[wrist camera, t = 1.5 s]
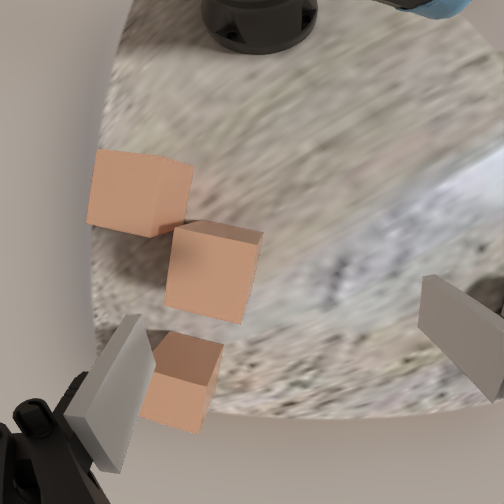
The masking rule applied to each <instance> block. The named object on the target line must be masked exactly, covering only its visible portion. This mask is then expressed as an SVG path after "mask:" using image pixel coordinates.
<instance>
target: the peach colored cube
mask: <svg viewBox="0 0 504 504" xmlns="http://www.w3.org/2000/svg"><path fill="white" fill-rule="evenodd" d="M193 171H194V167H193V166H190V165H187V164H184V163H181V162H178V161H175V160H172V159H169V158H166V157H162V156H155V155H147V154H138V153H130V152H120V151H110V150H100V149H97V154H96V159H95V165H94V170H93V176H92V182H91V189H90V196H89V203H88V211H87V219H86V223H87V224H91V225H95V226H100V227H104V228H109V229H113V230H117V231H122V232H126V233H131V234H135V235H140V236H144V237H149V238H151V237H154V236H157V235H160V234H164V233H167V232H170V231H173V230H174V229H175V227H179V226H182V225H184V220H185V214H186V208H187V203H188V197H189V192H190V186H191V181H192V176H193Z"/></svg>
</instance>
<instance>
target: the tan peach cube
mask: <svg viewBox="0 0 504 504" xmlns="http://www.w3.org/2000/svg"><path fill="white" fill-rule="evenodd" d="M223 347H224V345H223V344H218V343H214V342H210V341H206V340H202V339H199V338H195V337H191V336H187V335H183V334H180V333H176V332H173V331H170V332H169V333H168V334H167V335H166V336H165V338H164V339H163V340H162V341H161V342H160V344H159V345H158V346H157V347H156V348H155V350H154V351H153V352H152V353H153V356H154V359H155V363H156V367H155V369H154V372H153V375H152V378H151V381H150V383H149V386H148V389H147V392H146V395H145V398H144V401H143V404H142V407H141V410H140V413H139V416H141V417H144V418H147V419H150V420H152V421H156V422H159V423H162V424H165V425H168V426H171V427H174V428H178V429H181V430H185V431H188V432H192V433H195V434H199V433H200V430H201V428H202V425H203V422H204V419H205V417H206V414H207V411H208V408H209V406H210V403H211V400H212V397H213V395H214V392H215V389H216V384H217V378H218V373H219V368H220V362H221V357H222V352H223Z"/></svg>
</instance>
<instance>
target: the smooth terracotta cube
mask: <svg viewBox="0 0 504 504" xmlns="http://www.w3.org/2000/svg"><path fill="white" fill-rule="evenodd" d="M263 234H264V232H259V231H254V230H250V229H245V228H240V227H235V226H230V225H225V224H221V223H216V222H211V221H206V220H200V221H196V222H193V223H189V224H186V225H182V226H179V227H175V229H174V235H173V241H172V248H171V255H170V262H169V269H168V276H167V284H166V292H165V301H164V305H165V306H169V307H173V308H176V309H180V310H184V311H188V312H192V313H196V314H200V315H204V316H208V317H212V318H216V319H220V320H224V321H228V322H233V323H237V324H241V322H242V319H243V316H244V313H245V310H246V307H247V304H248V301H249V298H250V295H251V291H252V287H253V282H254V277H255V272H256V268H257V263H258V258H259V253H260V248H261V244H262V239H263Z"/></svg>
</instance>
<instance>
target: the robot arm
mask: <svg viewBox="0 0 504 504" xmlns="http://www.w3.org/2000/svg"><path fill="white" fill-rule="evenodd" d="M373 1H377V2H380V3H383V4H386V5H389V6H392V7H395V8H396V9H397V10H400V11H404V12H412V13H415V14H418V15H421V16H424V17H427V18H430V19H435V20H439V19H444V18H450V17H453V16H454V15H456V14H458V13H460V12H461V11H462V10H464V9H465V8H466V7H467V6H468V5H469V3H470V2H471V1H472V0H373ZM317 11H318V4H317V0H203V1H202V17H203V20H204V23H205V25H206V27H207V29H208V31H209V33H210V34H211V36H212V37H213V38H214V39H215V40H216V41H217V42H219V43H220V44H222V45H223V46H225V47H227V48H229V49H231V50H234V51H237V52H241V53H247V54H270V53H276V52H280V51H283V50H286V49H289V48H291V47H293V46H295V45H297V44H298V43H300V42H301V41H302V40H304V39H305V38H306V37H307V36H308V35H309V34H310V32H311V31H312V29H313V27H314V25H315V22H316V17H317ZM417 327H418V328H419V329H420V330H421V331H422V332H423V333H424V334H425V335H426V336H428V337H429V338H430V339H431V340H432V341H433V342H434V343H435V344H436V345H437V346H438V347H439V348H440V349H441V350H442V351H443V352H444V353H445V354H446V355H447V356H448V357H449V358H450V359H451V360H452V361H453V362H454V363H455V365H456V366H457V367H458V368H459V369H460V370H461V371H462V372H463V373H464V374H465V375H466V376H467V377H468V378H469V379H470V380H471V381H472V382H473V383H474V384H475V385H476V386H477V387H478V389H479V390H480V391H481V392H482V393H483V394H484V395H485V396H486V397H487V398H488V399H489V400H490V401H491V403H492V404H494V403H496V402H498V401H499V400H501V399H503V398H504V317H503V316H502V315H500V314H498V313H495V312H493V311H491V310H490V309H488V308H487V307H485V306H484V305H482V304H481V303H479V302H478V301H476V300H475V299H473V298H472V297H470V296H469V295H467V294H466V293H464V292H462V291H461V290H459V289H458V288H456V287H455V286H453V285H451V284H450V283H448V282H447V281H445V280H443V279H442V278H440V277H439V276H437V275H435V274H434V275H429V276H424V277H423V281H422V293H421V302H420V311H419V319H418V326H417ZM155 367H156V363H155V359H154V356H153V353H152V350H151V346H150V343H149V339H148V336H147V332H146V329H145V325H144V322H143V318H142V314H135V315H126V316H125V317H124V319H123V320H122V322H121V323H120V325H119V326H118V328H117V329H116V331H115V332H114V334H113V335H112V337H111V338H110V340H109V341H108V343H107V345H106V346H105V348H104V349H103V351H102V352H101V354H100V355H99V357H98V358H97V360H96V362H95V363H94V365H93V366H92V368H91V370H90V371H89V372H82V373H81V374H79V375H78V376H77V377H76V378H74V380H73V381H72V383H71V384H70V386H69V387H68V388H69V389H67V391H66V392H65V394H64V396H63V397H62V398H61V400H60V402H59V403H58V405H57V407H56V408H55V410H54V411H53V413H52V412H51V410H50V408H49V407H48V405H47V403H46V402H45V401H44V400H42V399H38V398H33V399H30V400H26V401H24V402H22V403H21V404H20V405H18V406H17V407H16V409H15V411H14V412H13V419H14V421H15V422H16V424H17V425H18V427H19V428H20V430H21V431H22V433H13V434H12V433H11V432H10V431H9V429H8V428H7V426H6V425H5V424H3V423H0V504H110V502H109V500H108V499H107V498H106V495H105V494H104V492H103V490H102V489H101V487H100V485H99V483H98V482H97V480H96V478H95V476H94V475H93V473H92V472H91V470H90V467H91V465H92V462H94V463H95V464H96V466H97V467H98V469H99V470H100V471H103V472H110V473H118V474H120V472H121V469H122V466H123V462H124V459H125V456H126V453H127V449H128V446H129V443H130V440H131V437H132V434H133V431H134V427H135V424H136V421H137V418H138V415H139V413H140V410H141V407H142V404H143V401H144V398H145V395H146V392H147V389H148V386H149V383H150V381H151V378H152V375H153V372H154V369H155Z"/></svg>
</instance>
